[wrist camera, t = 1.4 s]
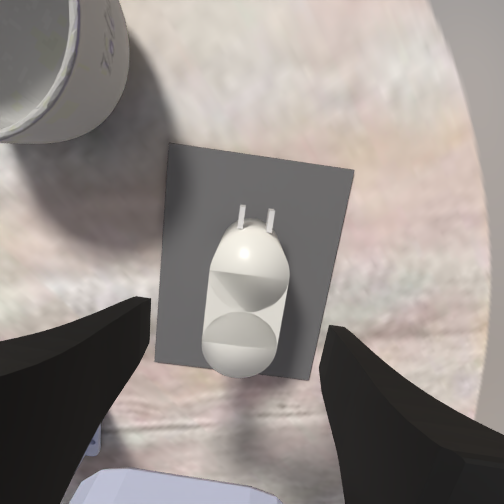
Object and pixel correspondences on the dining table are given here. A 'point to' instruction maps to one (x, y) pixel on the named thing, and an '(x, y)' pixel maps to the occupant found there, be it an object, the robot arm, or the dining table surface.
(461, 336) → the dining table surface
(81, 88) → the teacup
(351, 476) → the robot arm
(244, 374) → the plug block
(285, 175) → the rubber mat
